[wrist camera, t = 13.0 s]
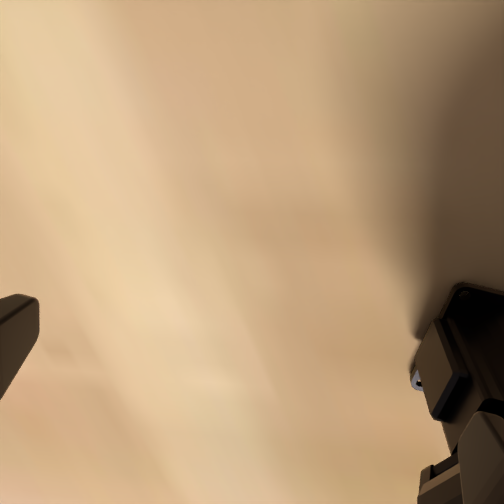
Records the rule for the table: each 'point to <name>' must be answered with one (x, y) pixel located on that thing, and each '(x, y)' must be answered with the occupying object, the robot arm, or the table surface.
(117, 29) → the table surface
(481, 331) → the robot arm
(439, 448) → the table surface
